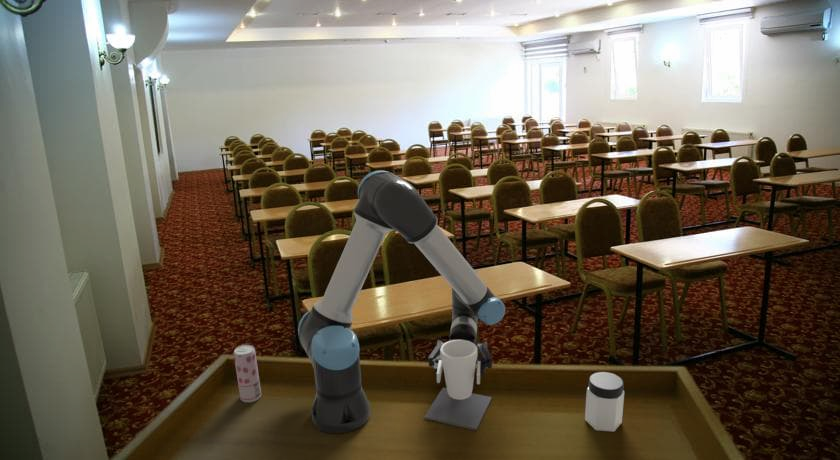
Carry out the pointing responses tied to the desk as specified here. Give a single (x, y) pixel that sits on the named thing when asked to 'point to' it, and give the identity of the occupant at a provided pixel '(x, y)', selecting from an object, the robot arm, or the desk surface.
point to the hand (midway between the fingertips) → (458, 378)
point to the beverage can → (247, 373)
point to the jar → (604, 401)
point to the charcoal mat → (459, 410)
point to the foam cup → (459, 367)
